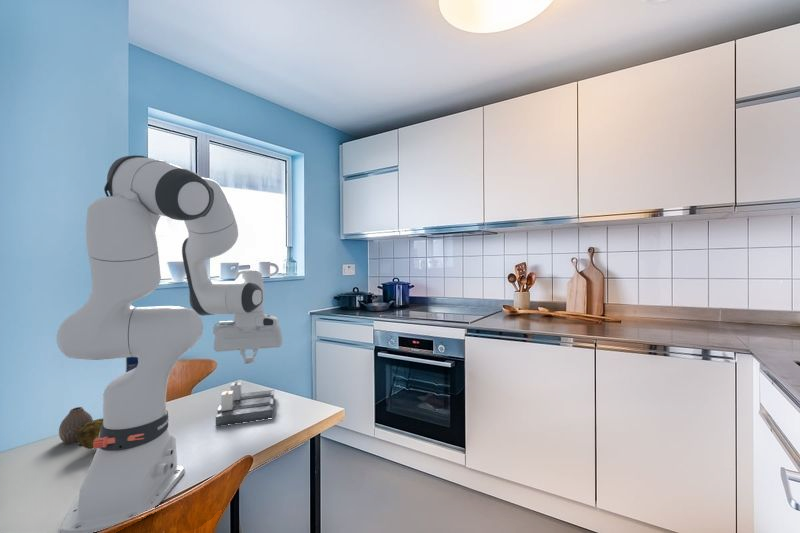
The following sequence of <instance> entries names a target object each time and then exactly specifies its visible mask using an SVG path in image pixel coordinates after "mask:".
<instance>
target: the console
mask: <svg viewBox="0 0 800 533" xmlns="http://www.w3.org/2000/svg"><path fill="white" fill-rule="evenodd" d="M274 402H275V389H271V390H270V389H269V390H261V391H252V392H251V391H250V392H243V393H242V392H241V399H240V400H233V408H232V410H226V411H221V404H220V405H219V406H218V408H217V413H216V415H215V427H216V426H219V427H222V426H221V425H226V426H229V425H228V424H233V425H236V424H235V423H241V424H244V423H243V422H248V423H251V422H250V421H255V422H257V421H256V420H262V419H268V418H273V419H274V416H273V415H274V406H273V405H274V404H275V403H274ZM262 421H263V420H262Z"/></svg>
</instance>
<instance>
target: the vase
mask: <svg viewBox="0 0 800 533" xmlns="http://www.w3.org/2000/svg"><path fill="white" fill-rule="evenodd" d="M93 420H94V418H93V417H92V415H91V414H90V413H89V412H88V411H86V410H85V409H84V408H83V406H78V407H77V406H76V407H73V408H71V409H70V411H69V413H68V414H66V416H65V417H64V418H63V420H62V421H61V423H60V425H59V428H58V436H59V439H60V440H61V442H63V443H65V444H68V445H69V444H70V445H71V444H77V443H78V444H79V442H78V440H77V438H76V434H77V431H78V430H79V428H80V427H81V426H83V425H85V424H86V423H88V422H90V421H93Z"/></svg>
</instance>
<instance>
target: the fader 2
mask: <svg viewBox="0 0 800 533" xmlns="http://www.w3.org/2000/svg"><path fill="white" fill-rule="evenodd" d="M230 391H233V400H240V399H241V394H242V381H235V382H231V384H230Z"/></svg>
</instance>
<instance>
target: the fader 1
mask: <svg viewBox="0 0 800 533" xmlns="http://www.w3.org/2000/svg"><path fill="white" fill-rule="evenodd" d="M220 396H221V397H220V398H221V400H220V405H221V411H226V410H232V408H233V391H231V390H230V389H229V390H225V391H222V393H221V395H220Z"/></svg>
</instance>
